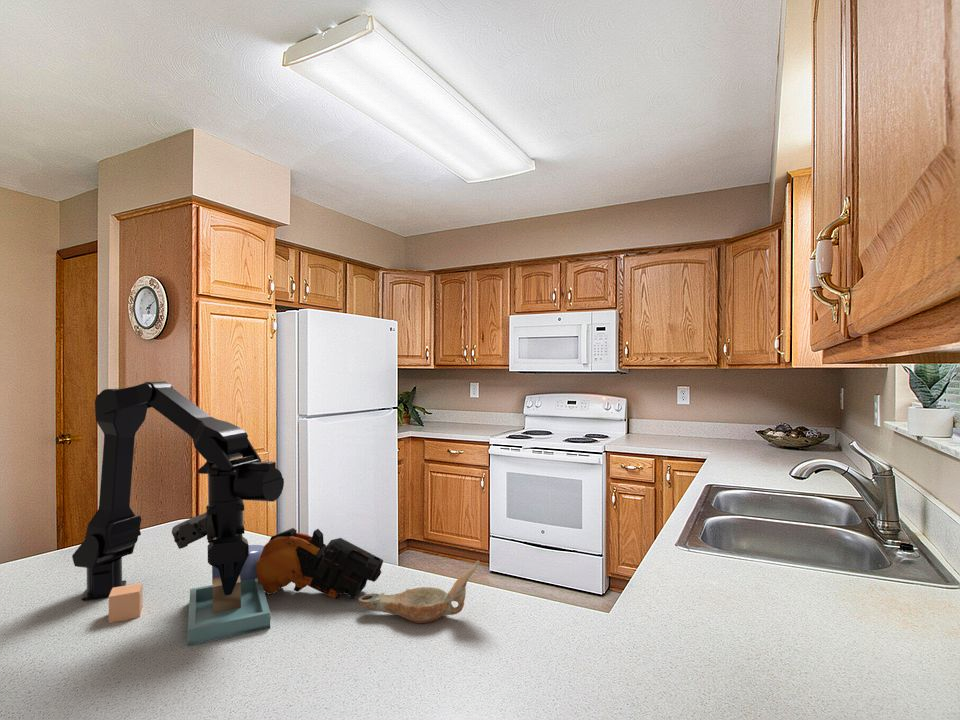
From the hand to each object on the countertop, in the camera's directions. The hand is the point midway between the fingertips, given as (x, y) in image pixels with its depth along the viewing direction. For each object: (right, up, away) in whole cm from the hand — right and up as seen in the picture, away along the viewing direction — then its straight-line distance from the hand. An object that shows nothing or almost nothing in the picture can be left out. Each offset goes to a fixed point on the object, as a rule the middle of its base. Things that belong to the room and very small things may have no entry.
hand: (227, 585), depth 98 cm
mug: (-2, -4, +9) cm, 10 cm away
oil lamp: (+35, -4, -5) cm, 35 cm away
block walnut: (0, -4, 0) cm, 4 cm away
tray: (+1, -4, -3) cm, 5 cm away
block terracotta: (-17, -5, -2) cm, 18 cm away
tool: (+15, -4, +5) cm, 17 cm away
